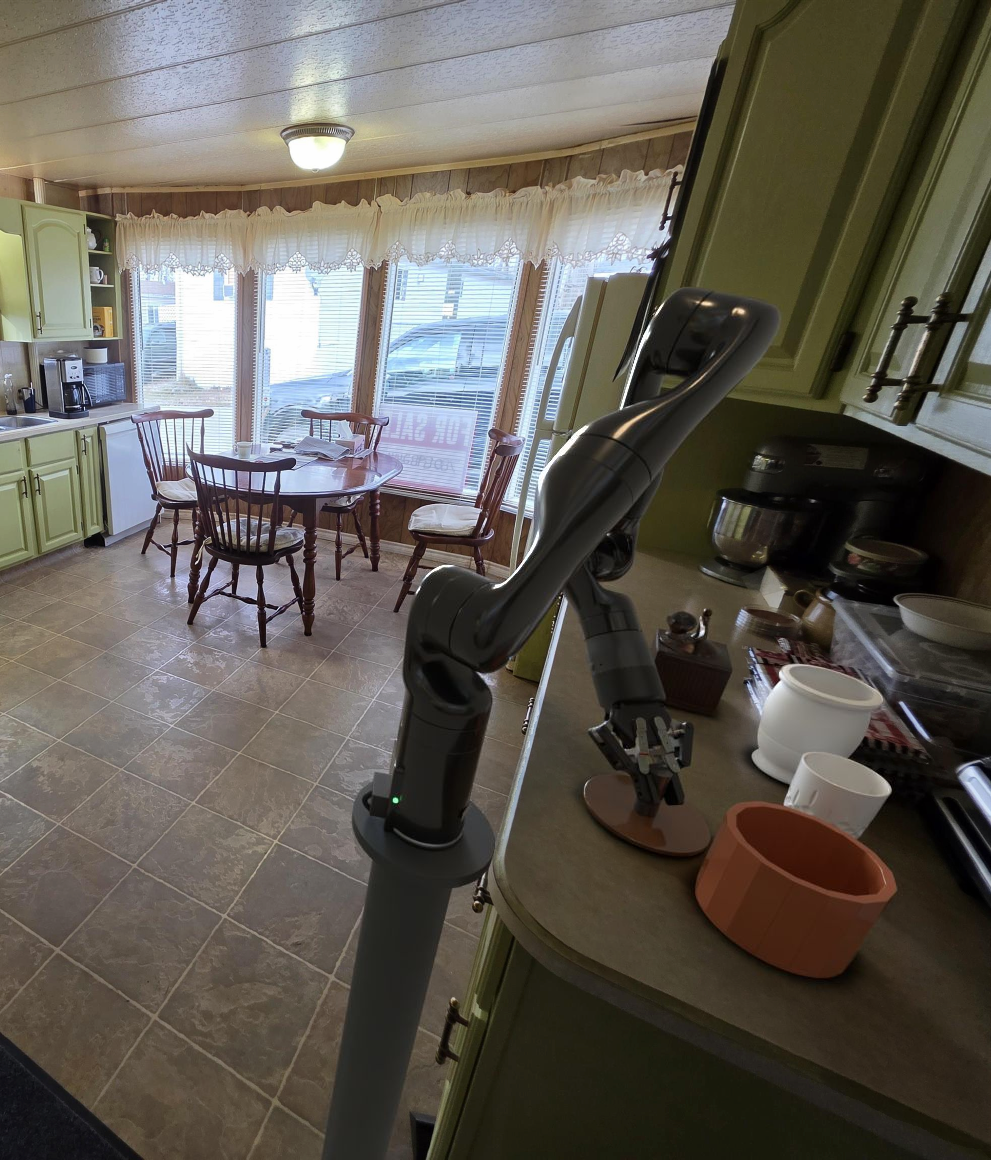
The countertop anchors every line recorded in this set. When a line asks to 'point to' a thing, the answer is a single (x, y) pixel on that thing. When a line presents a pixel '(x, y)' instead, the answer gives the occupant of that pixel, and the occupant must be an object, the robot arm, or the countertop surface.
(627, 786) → the lid
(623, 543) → the robot arm
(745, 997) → the countertop surface
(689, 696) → the manual coffee grinder
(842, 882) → the crock
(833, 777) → the white cup
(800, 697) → the jar
